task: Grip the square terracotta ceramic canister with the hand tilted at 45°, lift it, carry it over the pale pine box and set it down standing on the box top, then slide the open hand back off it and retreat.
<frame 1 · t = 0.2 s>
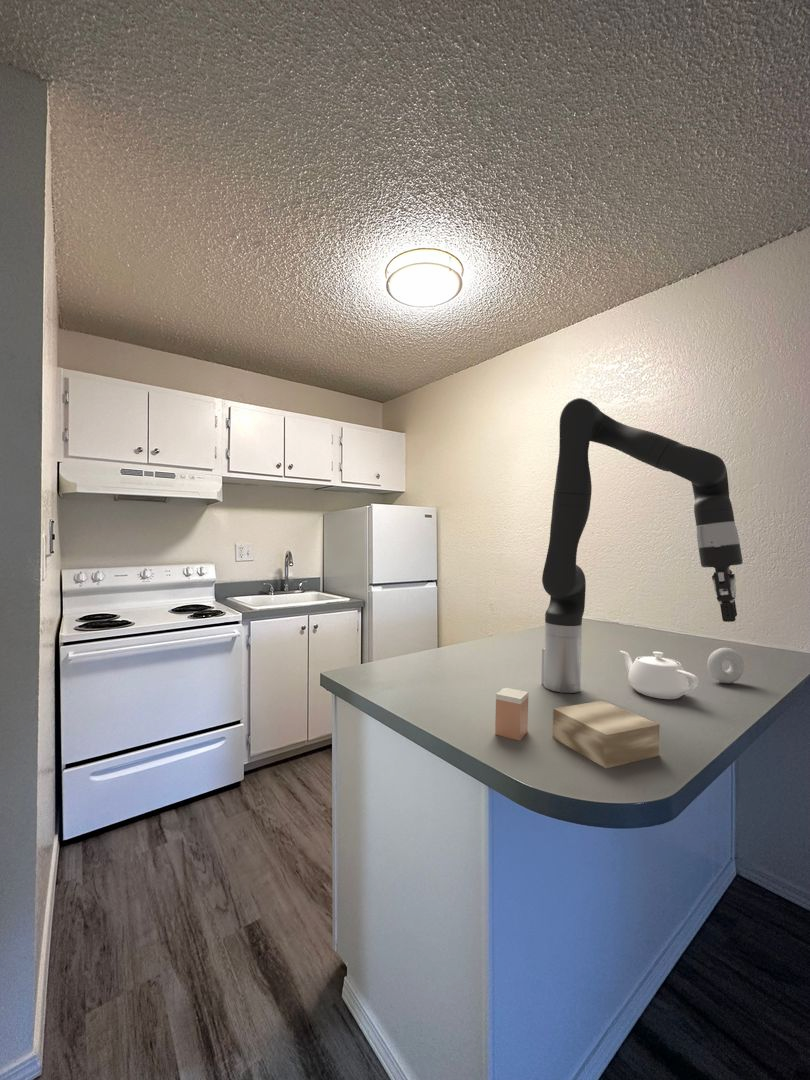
hand: (730, 619, 97), 23 cm above the table, tool pointing down, fingers open, 8 cm apart
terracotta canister: (511, 732, 90), on the table
teapot: (654, 693, 118), on the table
pine box: (603, 747, 85), on the table
donut: (725, 683, 127), on the table
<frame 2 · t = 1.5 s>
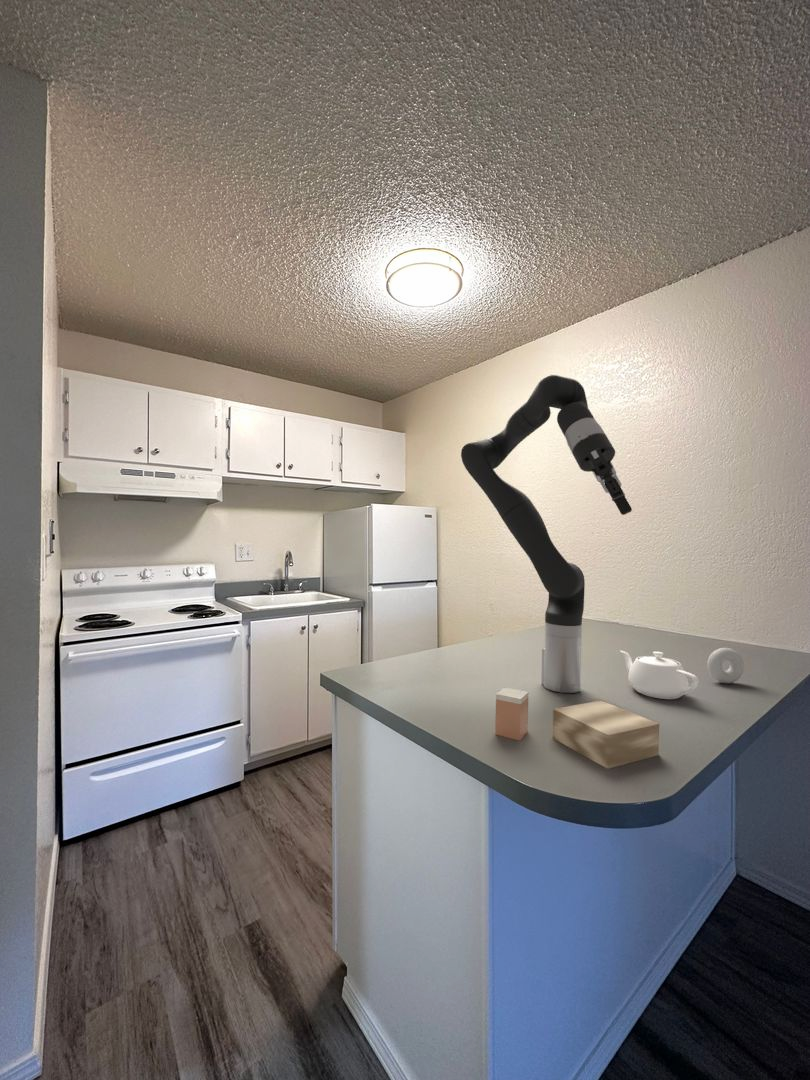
hand: (623, 505, 89), 46 cm above the table, tool tilted 35°, fingers open, 8 cm apart
nothing on the table moved.
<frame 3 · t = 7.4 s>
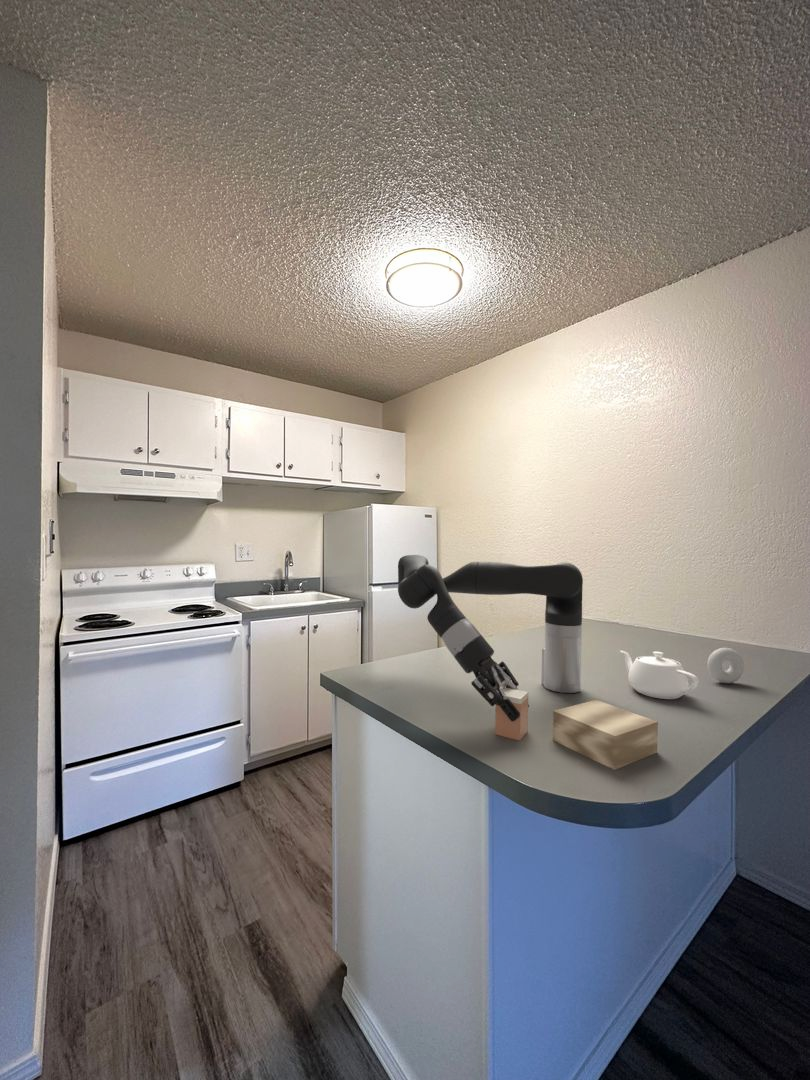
hand: (521, 713, 89), 4 cm above the table, tool tilted 45°, fingers closed on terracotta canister, 5 cm apart
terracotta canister: (511, 732, 90), on the table, touching gripper
when the fingers open (11 cm above the table, at t = 13.5 s): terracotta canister drops 1 cm, resting on pine box.
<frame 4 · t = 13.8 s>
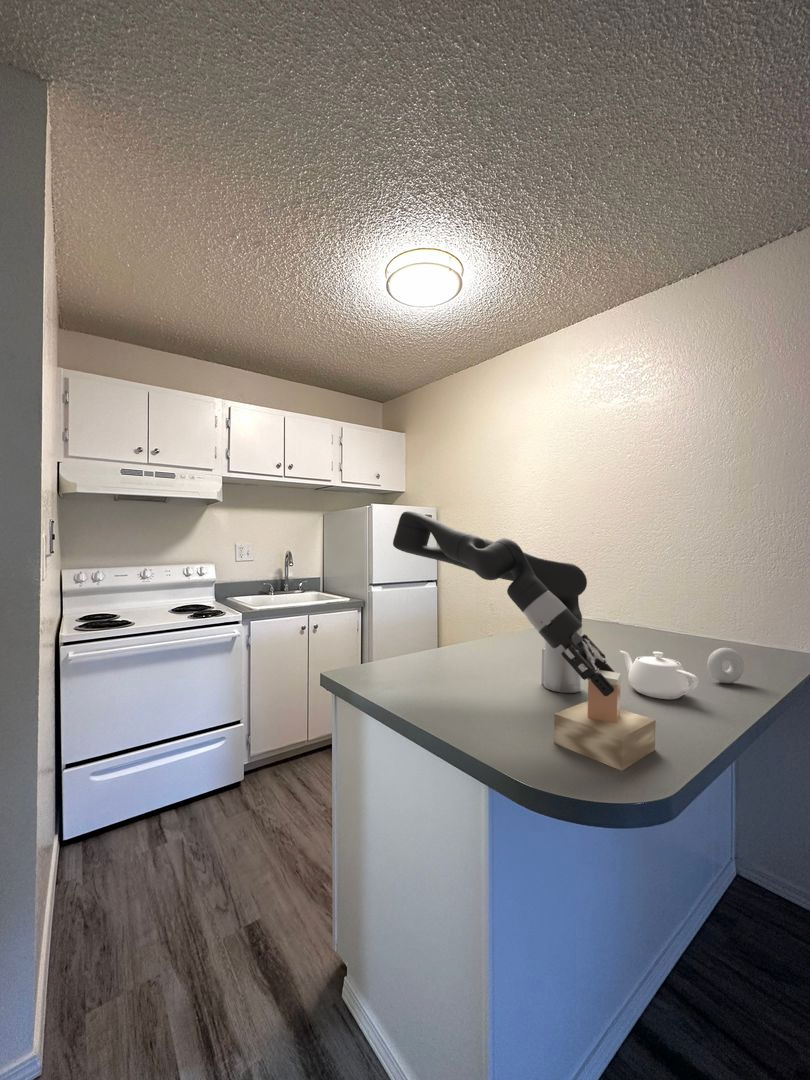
hand: (613, 687, 85), 11 cm above the table, tool tilted 45°, fingers open, 7 cm apart
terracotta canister: (603, 716, 86), point 6 cm above the table, touching pine box
pine box: (603, 748, 85), on the table, touching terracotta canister
everything else where it was.
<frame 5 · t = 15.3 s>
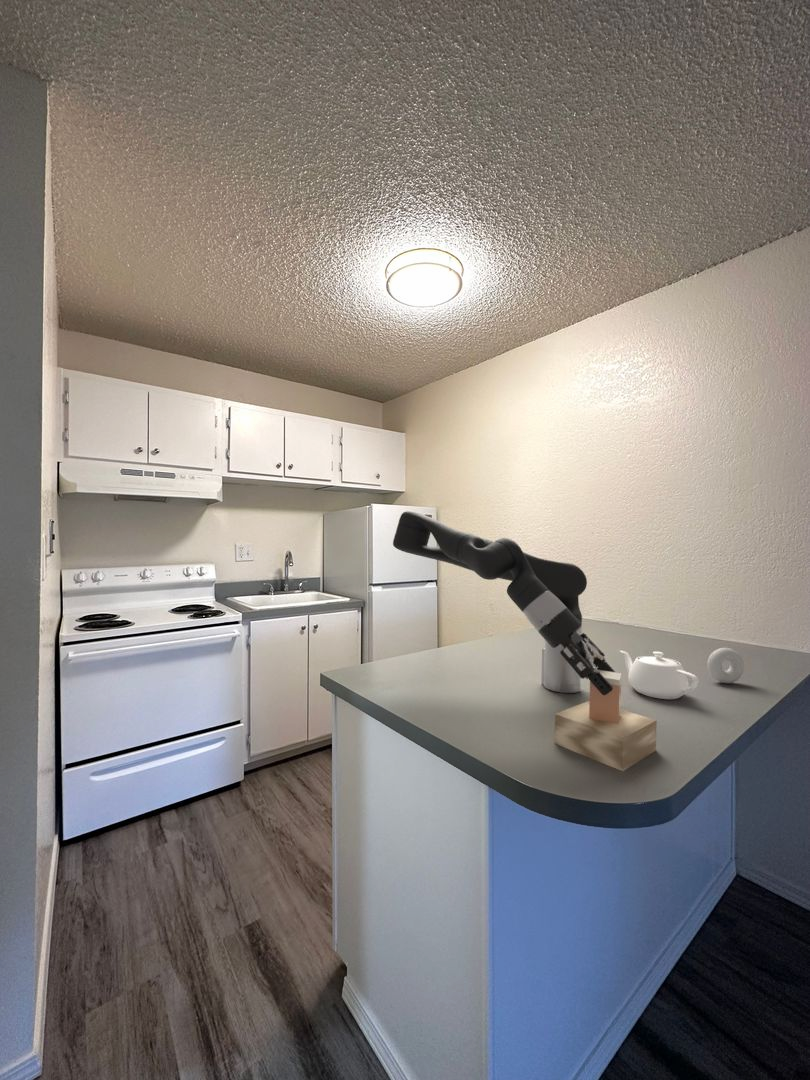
hand: (612, 686, 85), 12 cm above the table, tool tilted 45°, fingers open, 8 cm apart
nothing on the table moved.
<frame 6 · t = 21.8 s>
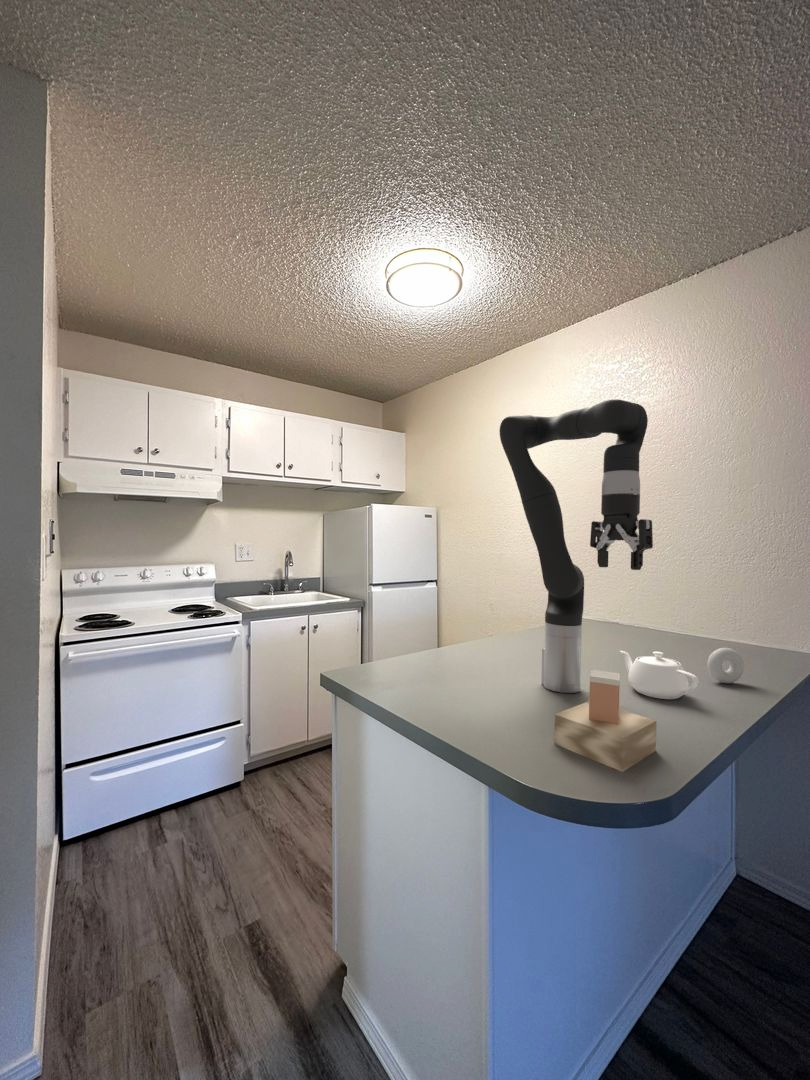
hand: (619, 568, 97), 33 cm above the table, tool pointing down, fingers open, 8 cm apart
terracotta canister: (603, 717, 85), point 6 cm above the table
pine box: (604, 749, 85), on the table
everything else where it was.
at the end: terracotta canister inside the target area on the pine box (0.1 cm from its centre), point 6.0 cm above the pine box's base; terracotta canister tilted 0°; the gripper is holding nothing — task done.
